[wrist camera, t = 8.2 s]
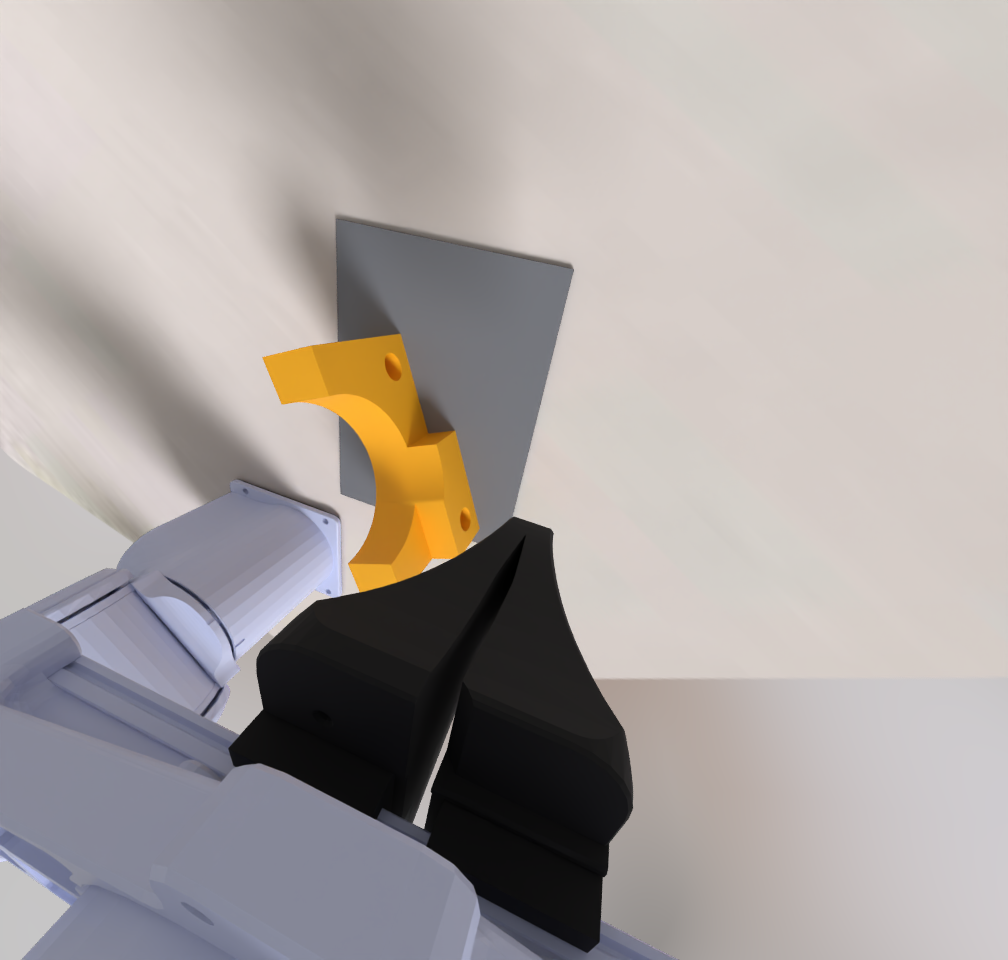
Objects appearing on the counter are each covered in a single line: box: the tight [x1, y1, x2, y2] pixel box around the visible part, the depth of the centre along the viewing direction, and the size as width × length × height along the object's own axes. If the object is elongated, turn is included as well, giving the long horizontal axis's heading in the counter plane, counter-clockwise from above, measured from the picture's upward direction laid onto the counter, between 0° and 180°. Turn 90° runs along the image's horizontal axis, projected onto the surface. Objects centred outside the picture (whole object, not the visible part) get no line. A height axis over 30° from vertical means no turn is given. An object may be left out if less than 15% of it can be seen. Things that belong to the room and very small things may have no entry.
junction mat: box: [336, 219, 574, 543], centre depth 21 cm, size 12×16×1 cm
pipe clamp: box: [262, 334, 480, 592], centre depth 19 cm, size 12×4×6 cm, turn 11°
